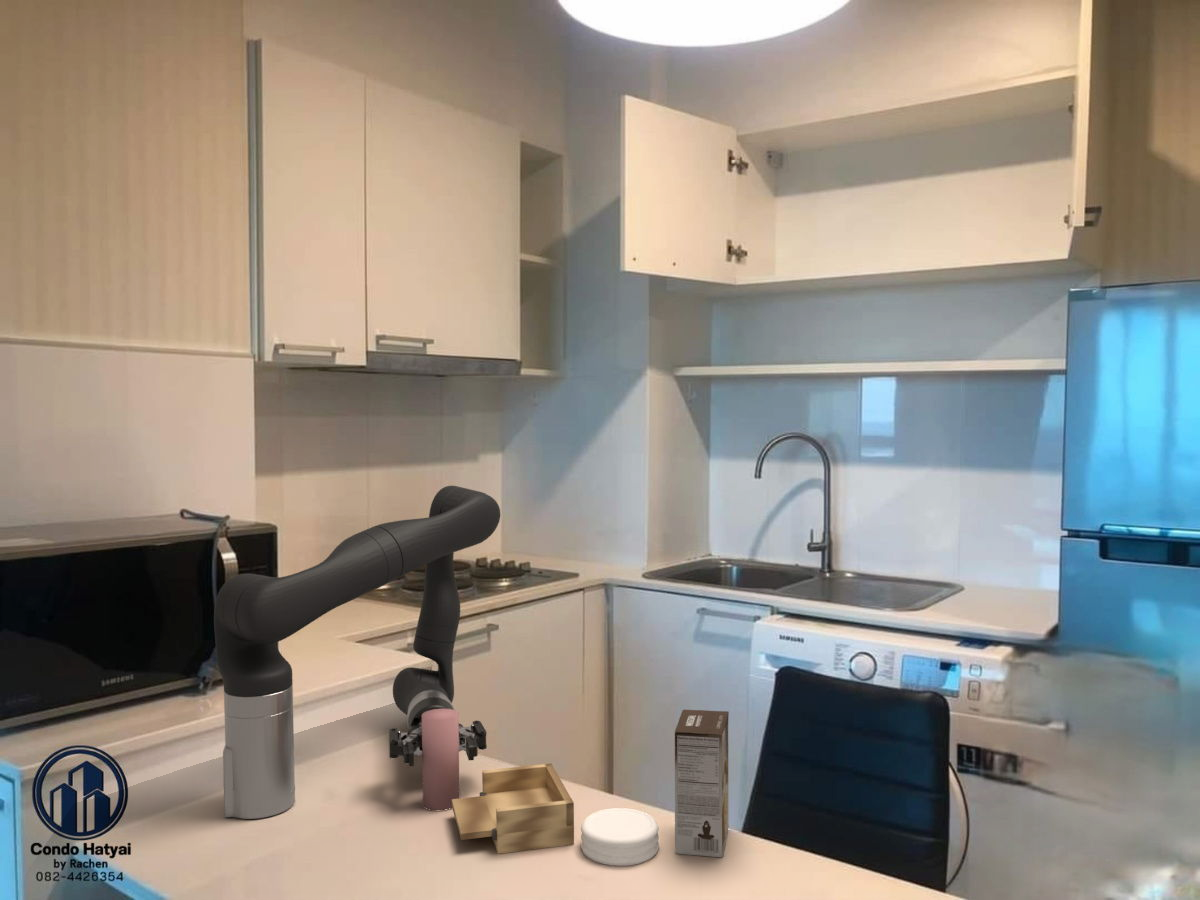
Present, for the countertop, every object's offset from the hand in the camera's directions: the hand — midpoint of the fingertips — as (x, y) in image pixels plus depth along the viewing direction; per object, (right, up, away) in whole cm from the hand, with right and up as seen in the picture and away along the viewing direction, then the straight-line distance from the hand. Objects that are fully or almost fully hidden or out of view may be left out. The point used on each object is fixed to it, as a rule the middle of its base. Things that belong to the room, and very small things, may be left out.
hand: (441, 756), depth 133 cm
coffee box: (+36, -8, -10) cm, 38 cm away
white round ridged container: (+25, -8, -12) cm, 29 cm away
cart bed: (+10, -8, -6) cm, 14 cm away
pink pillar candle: (-1, -7, +2) cm, 8 cm away
